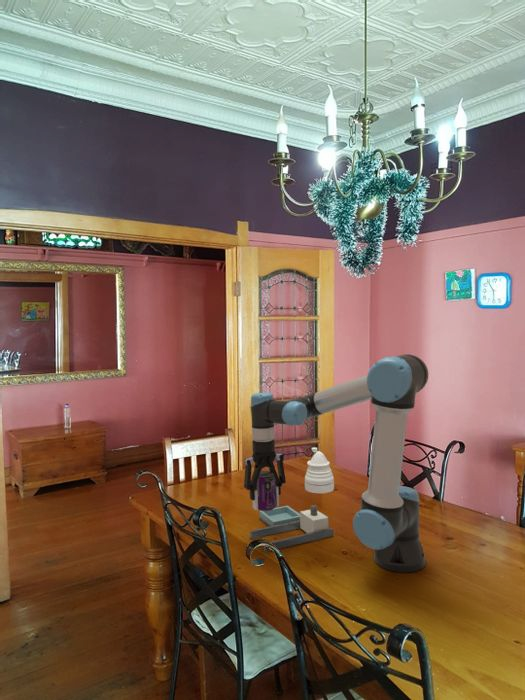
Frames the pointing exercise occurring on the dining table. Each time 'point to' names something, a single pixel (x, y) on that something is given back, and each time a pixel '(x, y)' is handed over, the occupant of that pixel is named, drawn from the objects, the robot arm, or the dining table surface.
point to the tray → (279, 516)
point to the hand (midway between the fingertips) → (265, 506)
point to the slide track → (291, 540)
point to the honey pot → (319, 474)
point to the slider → (313, 520)
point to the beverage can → (266, 491)
